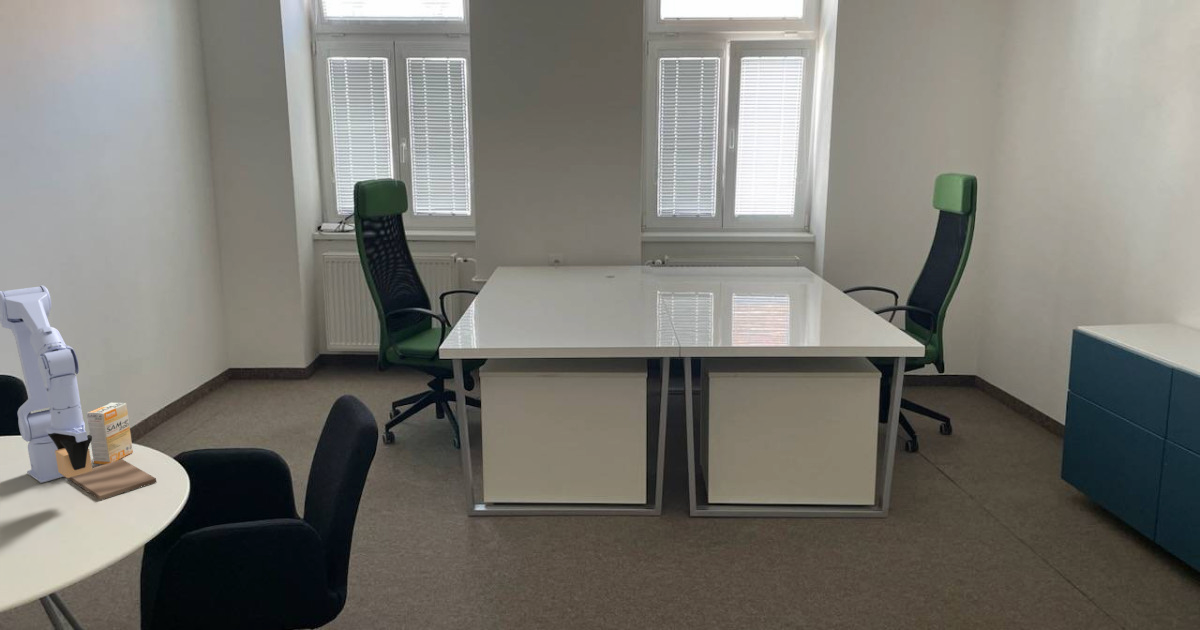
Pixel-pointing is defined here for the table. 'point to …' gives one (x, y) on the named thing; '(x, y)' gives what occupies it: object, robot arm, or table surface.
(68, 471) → the orange cube
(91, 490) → the walnut board
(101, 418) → the supplement box
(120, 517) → the table surface
